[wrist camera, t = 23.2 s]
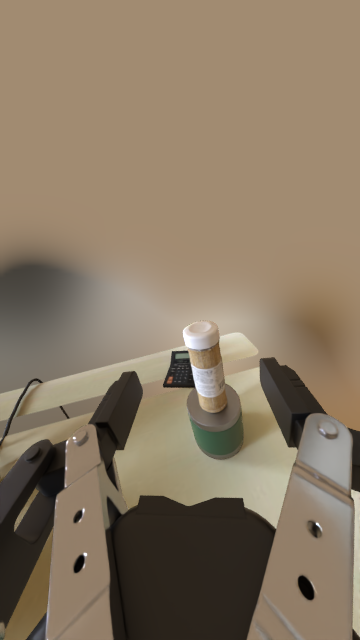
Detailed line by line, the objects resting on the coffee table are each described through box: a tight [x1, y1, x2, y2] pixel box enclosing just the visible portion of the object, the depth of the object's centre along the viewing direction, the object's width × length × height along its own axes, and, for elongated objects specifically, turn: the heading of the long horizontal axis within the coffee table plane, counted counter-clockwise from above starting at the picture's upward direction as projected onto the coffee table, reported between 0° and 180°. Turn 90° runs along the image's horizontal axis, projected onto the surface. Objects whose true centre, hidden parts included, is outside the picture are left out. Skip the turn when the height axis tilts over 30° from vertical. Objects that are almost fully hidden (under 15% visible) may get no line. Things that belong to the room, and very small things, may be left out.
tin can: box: [187, 384, 243, 460], centre depth 29 cm, size 8×8×8 cm
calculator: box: [163, 351, 196, 388], centre depth 46 cm, size 9×12×3 cm
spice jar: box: [183, 321, 227, 413], centre depth 24 cm, size 5×5×14 cm
